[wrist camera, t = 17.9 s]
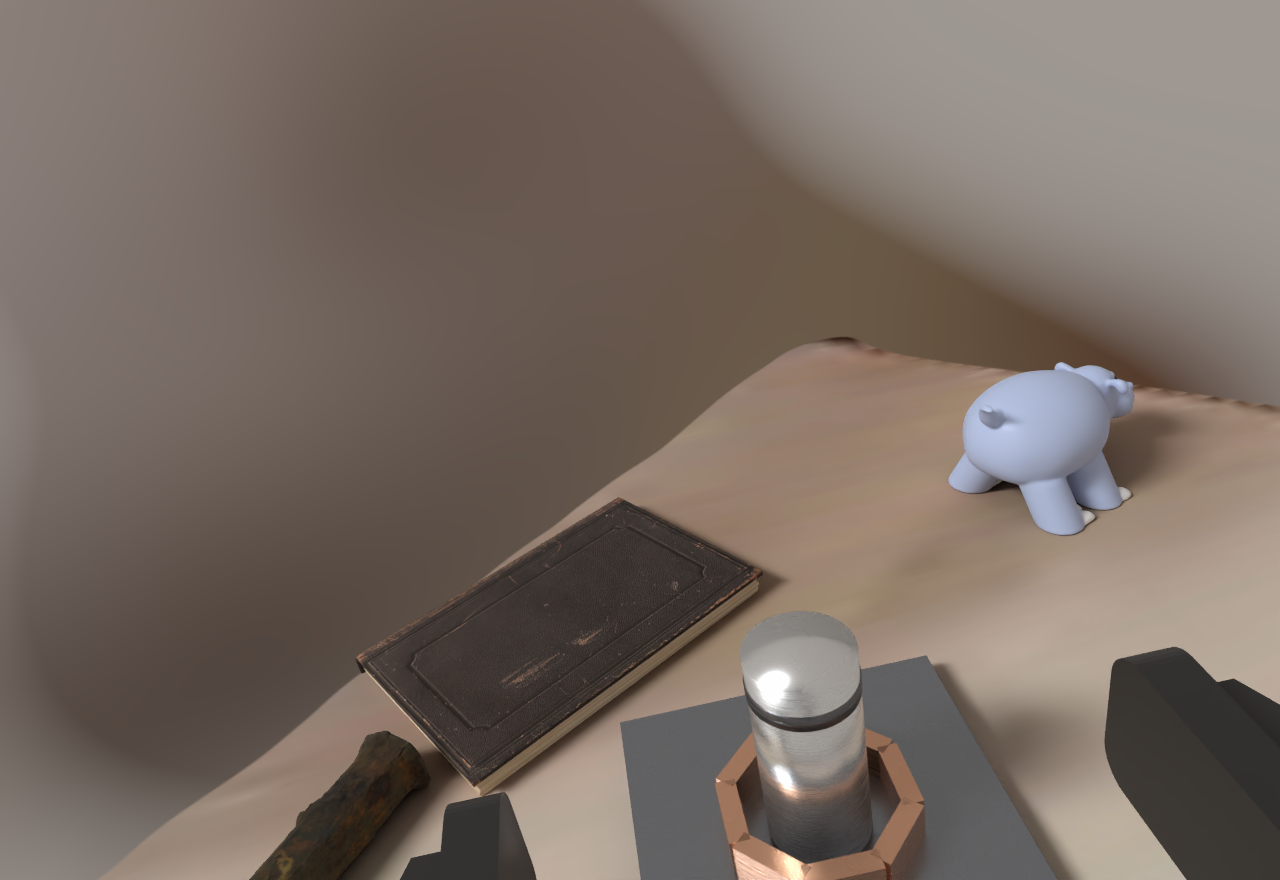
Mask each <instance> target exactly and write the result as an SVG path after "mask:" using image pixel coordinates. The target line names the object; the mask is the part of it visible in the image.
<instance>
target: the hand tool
mask: <svg viewBox="0 0 1280 880" xmlns="http://www.w3.org/2000/svg"><path fill="white" fill-rule="evenodd" d="M429 781H430V776H429V774H428V773H427V770H426V767H425V764H424V761H423V759H422V757H421V755H420V754H419V752H418V751H417V750H416V749H415V747H414V746H413V745H412V744H411V743H409V742H407V741H406V740H403V739H401V738H399V737H397V736H395V735H393V734H391V733H390V732H388V731H382V732H377V733H375V734H370V735H367V736H366V738H365V740H364V742H363V744H362V745H361V748H360V750H359V753H358V755H357V757H356V759H355V761H354V762H353V763H352V765H351V766H350V767H349V768H348V769H347V770H346V771H345V772H344V773H343V774H342V775H341V776H340V778H339V779H338V780H337V781H336V782H335V784H334V785H333V786H332V787H331V788H330V789H329V790H328V791H327V792H326V793H324V795H323V796H322V798H320V799H318V800H317V801H315V802H314V803H312V804H310V805H309V807H308V808H307V809H306V810H305V811H303V812H300V813H299V815H298V817H297V821H296V827H295V828H294V829H293V830H292V831H291V832H290V833H289V834H288V836H287V837H286V838H285V840H284V841H283V842H282V843H281V844H280V845H279V846H278V848H277V849H276V850H275V851H274V852H273V853H272V855H271V856H270V857H269V858H268V859H267V860H266V861H265V862H264V863H263V864H262V866H261V867H260V868H259V869H258V870H257V871H256V872H255V874H254V875H253V876H252V877H251V878H250V879H249V880H337V879H338V878H339V877H340V875H341V874H342V873H343V872H344V871H345V869H346V868H347V867H348V866H349V864H351V863H352V862H353V861H354V860H355V859H356V858H357V857H358V855H359V854H360V853H361V851H362V850H363V848H364V847H365V846H366V845H368V844H369V843H370V842H371V841H372V839H373V837H374V835H375V834H376V832H377V831H378V829H379V828H380V827H381V826H382V825H383V824H384V823H385V822H386V820H387V819H388V818H389V816H390V815H391V813H392V812H393V810H394V809H395V808H396V807H397V806H398V805H399V803H400V802H401V801H402V799H403V798H404V797H405V796H406V795H407V794H408V793H409V792H410V791H411V790H412V789H416V788H420V789H422V788H425V787H426V786H427V785H428V783H429Z"/></svg>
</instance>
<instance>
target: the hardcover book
mask: <svg viewBox="0 0 1280 880" xmlns="http://www.w3.org/2000/svg"><path fill="white" fill-rule="evenodd" d="M761 575H763V571H761V570H759V569H757V568H755V567H753V566H751V565H749V564H747V563H745V562H743V561H742V560H740V559H738V558H736V557H734V556H732V555H730V554H728V553H726V552H724V551H722V550H720V549H718V548H716V547H714V546H712V545H711V544H709V543H707V542H705V541H703V540H701V539H699V538H697V537H695V536H693V535H691V534H689V533H687V532H685V531H683V530H681V529H679V528H678V527H676V526H674V525H672V524H670V523H668V522H666V521H664V520H662V519H660V518H658V517H656V516H654V515H652V514H650V513H648V512H647V511H645V510H643V509H641V508H639V507H637V506H635V505H633V504H631V503H629V502H627V501H625V500H623V499H621V498H617V499H615V500H613V501H612V502H610V503H608V504H607V505H605V506H603V507H602V508H600V509H599V510H597V511H595V512H594V513H592V514H590V515H589V516H587V517H585V518H584V519H582V520H580V521H579V522H577V523H575V524H574V525H572V526H570V527H569V528H567V529H565V530H564V531H562V532H561V533H559V534H557V535H556V536H554V537H552V538H551V539H549V540H547V541H546V542H544V543H542V544H541V545H539V546H537V547H536V548H534V549H532V550H531V551H529V552H528V553H526V554H524V555H523V556H521V557H519V558H518V559H516V560H514V561H513V562H511V563H509V564H508V565H506V566H504V567H503V568H501V569H499V570H498V571H496V572H494V573H493V574H491V575H490V576H488V577H486V578H485V579H483V580H481V581H480V582H478V583H476V584H475V585H473V586H471V587H470V588H468V589H466V590H465V591H463V592H461V593H460V594H458V595H456V596H455V597H453V598H452V599H450V600H448V601H447V602H445V603H443V604H442V605H440V606H438V607H437V608H435V609H433V610H432V611H430V612H429V613H427V614H425V615H423V616H422V617H420V618H419V619H417V620H415V621H414V622H412V623H410V624H409V625H407V626H405V627H404V628H402V629H400V630H399V631H397V632H396V633H394V634H392V635H390V636H389V637H387V638H385V639H384V640H382V641H381V642H379V643H377V644H376V645H374V646H372V647H371V648H369V649H367V650H366V651H364V652H362V653H361V654H359V655H357V656H356V658H355V659H356V662H357V664H358V667H359V669H360V671H361V673H364V672H367V673H368V674H369V676H370V677H371V678H372V679H373V680H374V681H375V682H376V683H377V684H378V685H379V686H380V687H381V689H382V690H383V691H384V692H385V693H386V694H387V695H388V696H389V697H390V698H391V699H392V700H393V702H394V703H395V704H396V705H397V706H398V707H399V708H400V709H401V710H402V711H403V712H404V714H405V715H406V716H407V717H408V718H409V719H410V720H411V721H412V722H413V723H414V724H415V725H416V727H417V728H418V729H419V730H420V731H421V732H422V733H423V734H424V735H425V736H426V737H427V738H428V740H429V741H430V742H431V743H432V744H433V745H434V746H435V747H436V748H437V749H438V750H439V751H440V753H441V754H442V755H443V756H444V757H445V758H446V759H447V760H448V761H449V762H450V763H451V765H452V766H453V767H454V768H455V769H456V770H457V771H458V772H459V773H460V774H461V775H462V776H463V778H464V779H465V780H466V781H467V782H468V783H469V784H470V785H471V786H472V787H473V788H474V789H475V791H476V792H477V793H478V794H479V795H480V796H481V797H482V796H484V795H485V794H486V793H488V792H489V791H490V790H492V789H493V788H494V787H496V786H497V785H498V784H500V783H501V782H502V781H504V780H505V779H506V778H508V777H509V776H510V775H512V774H513V773H515V772H516V771H517V770H519V769H520V768H521V767H523V766H524V765H525V764H527V763H528V762H529V761H531V760H532V759H533V758H535V757H536V756H537V755H539V754H540V753H541V752H543V751H544V750H545V749H547V748H548V747H549V746H551V745H552V744H553V743H555V742H556V741H557V740H559V739H560V738H561V737H563V736H564V735H565V734H567V733H568V732H569V731H571V730H572V729H573V728H575V727H576V726H577V725H579V724H580V723H581V722H583V721H584V720H586V719H587V718H588V717H590V716H591V715H592V714H594V713H595V712H596V711H598V710H599V709H600V708H602V707H603V706H604V705H606V704H607V703H608V702H610V701H611V700H612V699H614V698H615V697H616V696H618V695H619V694H620V693H622V692H623V691H624V690H626V689H627V688H628V687H630V686H631V685H632V684H634V683H635V682H636V681H638V680H639V679H640V678H642V677H643V676H644V675H646V674H647V673H648V672H650V671H651V670H653V669H654V668H655V667H657V666H658V665H659V664H661V663H662V662H663V661H665V660H666V659H667V658H669V657H670V656H671V655H673V654H674V653H675V652H677V651H678V650H679V649H681V648H682V647H683V646H685V645H686V644H687V643H689V642H690V641H691V640H693V639H694V638H695V637H697V636H698V635H699V634H701V633H702V632H703V631H705V630H706V629H707V628H709V627H710V626H711V625H713V624H714V623H715V622H717V621H718V620H719V619H721V618H722V617H724V616H725V615H726V614H728V613H729V612H730V611H732V610H733V609H734V608H736V607H737V606H738V605H740V604H741V603H742V602H744V601H745V600H746V599H748V598H749V597H750V596H752V595H753V594H754V593H756V592H757V591H758V590H759V589H758V585H759V582H758V581H756V579H757V578H759V577H760V576H761Z"/></svg>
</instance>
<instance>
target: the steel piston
mask: <svg viewBox="0 0 1280 880" xmlns="http://www.w3.org/2000/svg"><path fill="white" fill-rule="evenodd" d="M740 659H741V665H742V671H743V684H744V690H745V696H746V700H747V703H748V707H749V713H750V719H751V725H752V731H753V737H754V743H755V749H756V755H757V761H758V767H759V773H760V779H761V785H762V791H763V797H764V803H765V809H766V815H767V821H768V827H769V832H770V834H771V837H772V839H773V841H774V843H775V844H776V845H777V847H778V848H779V849H780V850H781V851H782V852H784V853H786V854H787V855H789V856H791V857H793V858H795V859H797V860H799V861H801V862H803V863H805V864H811V863H815V862H820V861H824V860H829V859H833V858H837V857H842V856H846V855H851V854H855V853H860V852H861V851H862V850H863V849H864V847H865V846H866V844H867V843H868V841H869V839H870V836H871V833H872V827H873V820H872V808H871V796H870V784H869V772H868V760H867V748H866V736H865V725H864V713H863V701H862V674H861V668H860V665H859V653H858V645H857V641H856V638H855V636H854V635H853V633H852V632H851V631H850V629H849V628H848V627H847V626H846V625H844V624H843V623H842V622H840V621H839V620H837V619H835V618H833V617H830V616H828V615H825V614H821V613H816V612H808V611H795V612H787V613H782V614H778V615H775V616H772V617H770V618H768V619H766V620H763V621H762V622H760V623H759V624H757V625H756V626H755V627H753V628H752V629H751V630H750V631H749V632H748V634H747V635H746V636H745V638H744V640H743V642H742V645H741V649H740Z"/></svg>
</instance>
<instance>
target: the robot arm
mask: <svg viewBox="0 0 1280 880" xmlns="http://www.w3.org/2000/svg"><path fill="white" fill-rule="evenodd" d="M1105 750H1106V755H1107V759H1108V762H1109V765H1110V768H1111V771H1112V773H1113V775H1114V777H1115V779H1116V781H1117V783H1118V785H1119V787H1120V788H1121V790H1122V791H1123V793H1124V794H1125V795H1126V797H1127V798H1128V799H1129V801H1130V802H1131V804H1132V805H1133V806H1134V808H1135V809H1136V811H1137V812H1138V813H1139V815H1140V816H1141V817H1142V819H1143V820H1144V822H1145V823H1146V824H1147V826H1148V827H1149V828H1150V830H1151V831H1152V833H1153V834H1154V835H1155V837H1156V838H1157V839H1158V841H1159V842H1160V844H1161V845H1162V846H1163V848H1164V849H1165V851H1166V852H1167V853H1168V855H1169V856H1170V857H1171V859H1172V860H1173V862H1174V863H1175V864H1176V866H1177V867H1178V868H1179V870H1180V871H1181V873H1182V874H1183V875H1184V877H1185V878H1186V879H1187V880H1280V705H1279V704H1278V703H1276V702H1274V701H1272V700H1271V699H1269V698H1267V697H1265V696H1264V695H1262V694H1260V693H1258V692H1257V691H1255V690H1253V689H1251V688H1249V687H1248V686H1246V685H1244V684H1242V683H1241V682H1239V681H1237V680H1235V679H1230V680H1225V681H1221V682H1216V681H1215V680H1214V679H1213V678H1212V677H1211V676H1210V675H1209V674H1208V673H1207V672H1206V671H1205V670H1204V668H1203V667H1202V666H1201V665H1200V664H1199V663H1198V662H1197V661H1196V660H1195V659H1194V658H1193V657H1192V656H1191V655H1190V654H1189V653H1187V652H1186V651H1184V650H1183V649H1181V648H1178V647H1171V648H1166V649H1162V650H1157V651H1152V652H1148V653H1143V654H1139V655H1134V656H1130V657H1125V658H1121V659H1118V660H1116V661H1115V662H1114V664H1113V666H1112V671H1111V681H1110V691H1109V701H1108V711H1107V721H1106V731H1105ZM400 880H536V875H535V871H534V867H533V864H532V861H531V858H530V856H529V853H528V850H527V847H526V844H525V842H524V839H523V836H522V833H521V831H520V828H519V825H518V822H517V819H516V817H515V814H514V811H513V808H512V806H511V803H510V800H509V798H508V796H507V794H506V793H505V792H502V793H497V794H492V795H488V796H483V797H479V798H474V799H470V800H465V801H461V802H456V803H452V804H448V805H447V807H446V809H445V813H444V821H443V832H442V844H441V852H436V853H432V854H427V855H423V856H418V857H414V858H411V860H410V861H409V863H408V865H407V867H406V869H405V871H404V873H403V875H402V877H401V879H400Z"/></svg>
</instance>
